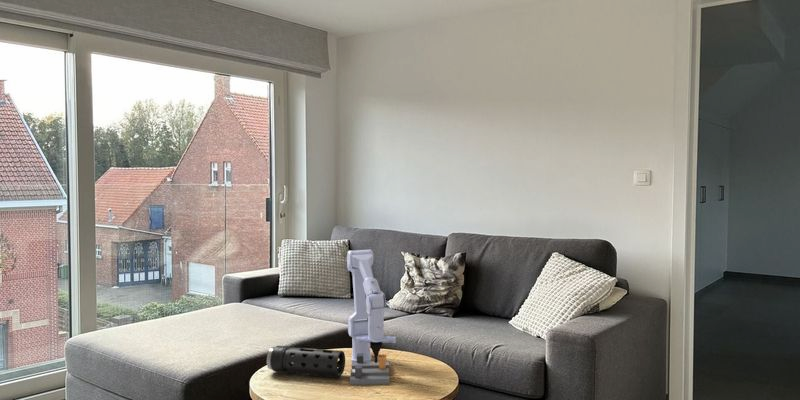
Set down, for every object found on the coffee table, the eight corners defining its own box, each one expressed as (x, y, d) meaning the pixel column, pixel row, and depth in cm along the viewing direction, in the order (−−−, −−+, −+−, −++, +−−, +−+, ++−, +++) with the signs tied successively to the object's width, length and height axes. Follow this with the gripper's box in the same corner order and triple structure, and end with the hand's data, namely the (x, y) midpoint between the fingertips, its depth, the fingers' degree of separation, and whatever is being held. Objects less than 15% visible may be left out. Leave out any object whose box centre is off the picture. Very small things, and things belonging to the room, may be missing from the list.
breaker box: (352, 366, 235) (352, 352, 235) (388, 366, 235) (388, 352, 235) (350, 384, 215) (349, 369, 215) (389, 384, 215) (389, 369, 215)
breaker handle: (378, 367, 227) (378, 354, 227) (386, 367, 227) (386, 353, 227) (378, 371, 223) (378, 357, 223) (386, 370, 223) (386, 357, 223)
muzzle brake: (336, 382, 218) (336, 354, 217) (265, 376, 225) (265, 349, 224) (345, 374, 227) (345, 346, 226) (277, 368, 234) (276, 342, 233)
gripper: (355, 328, 220) (356, 365, 221) (395, 328, 221) (396, 365, 221) (356, 324, 227) (357, 359, 228) (395, 323, 228) (395, 359, 228)
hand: (376, 362), depth 225 cm, fingers closed
